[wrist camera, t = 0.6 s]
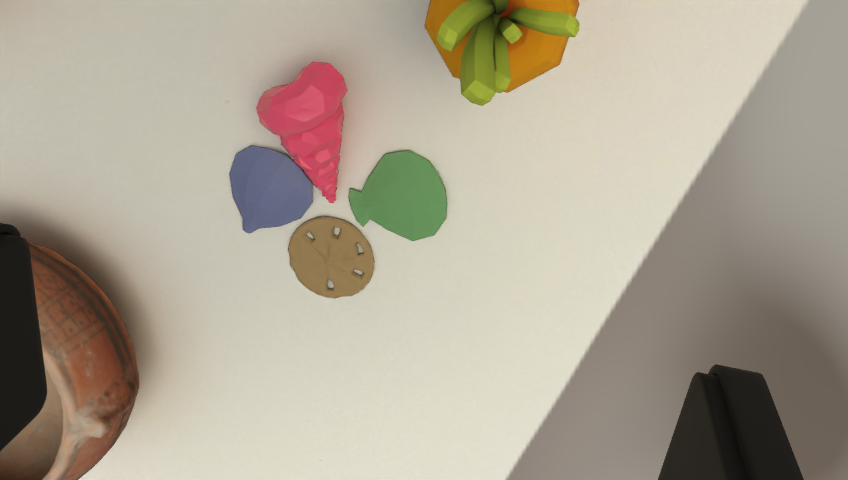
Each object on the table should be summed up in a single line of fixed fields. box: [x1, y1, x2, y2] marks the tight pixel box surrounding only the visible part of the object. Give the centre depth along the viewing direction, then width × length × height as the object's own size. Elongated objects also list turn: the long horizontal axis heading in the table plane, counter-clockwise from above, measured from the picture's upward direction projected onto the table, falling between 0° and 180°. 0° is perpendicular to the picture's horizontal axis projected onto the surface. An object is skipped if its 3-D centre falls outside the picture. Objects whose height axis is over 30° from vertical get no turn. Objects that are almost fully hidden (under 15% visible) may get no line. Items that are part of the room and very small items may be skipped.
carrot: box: [425, 0, 579, 106], centre depth 26 cm, size 5×5×15 cm
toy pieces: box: [230, 62, 447, 298], centre depth 37 cm, size 12×11×4 cm
